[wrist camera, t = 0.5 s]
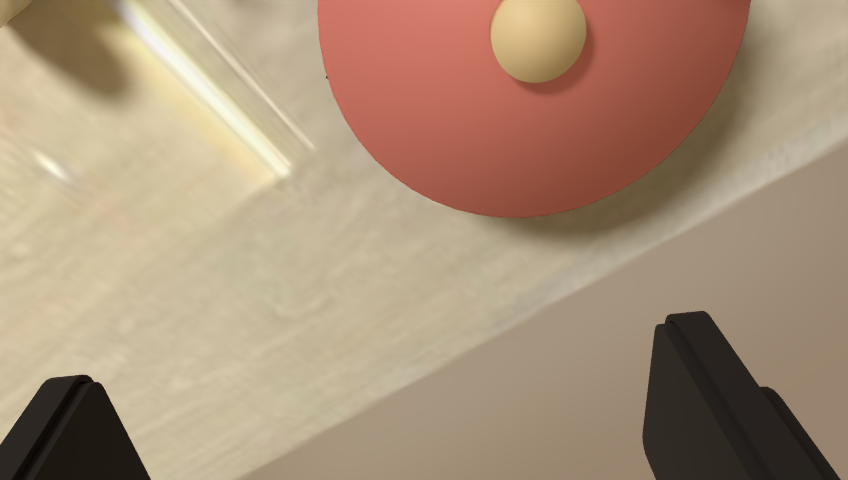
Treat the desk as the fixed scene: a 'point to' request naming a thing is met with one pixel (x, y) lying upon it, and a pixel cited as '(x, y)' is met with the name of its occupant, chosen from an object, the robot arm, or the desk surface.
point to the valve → (11, 9)
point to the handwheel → (525, 91)
